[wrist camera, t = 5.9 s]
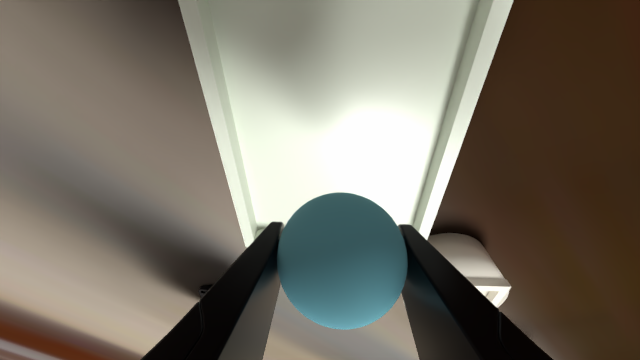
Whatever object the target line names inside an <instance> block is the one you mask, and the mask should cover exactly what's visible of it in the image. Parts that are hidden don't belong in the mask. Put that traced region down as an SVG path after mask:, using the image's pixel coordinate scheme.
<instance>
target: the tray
mask: <svg viewBox="0 0 640 360" xmlns="http://www.w3.org/2000/svg"><path fill="white" fill-rule="evenodd" d="M178 2H179V6H180V10H181V13H182V17H183V20H184V24H185V28H186V31H187V35H188V39H189V42H190V46H191V50H192V53H193V57H194V61H195V64H196V68H197V71H198V75H199V79H200V82H201V86H202V90H203V93H204V97H205V101H206V104H207V108H208V112H209V115H210V119H211V123H212V126H213V130H214V133H215V137H216V141H217V144H218V148H219V152H220V155H221V159H222V163H223V166H224V170H225V174H226V177H227V181H228V184H229V188H230V192H231V195H232V199H233V203H234V206H235V210H236V214H237V217H238V221H239V225H240V228H241V232H242V235H243V239H244V243H245V246H246V247H249V246H250V244H251V243H252V242H253V241H254V240H255V239H256V238H257V237H258V236H259V235H260V233H261V232H262V231H263V230H264V229H265V228H266V227H267V226H268V225H269V224H270V223H271V222H273V221H275V222H283V224H284V227H285V225H286V224H287V222H288V220H289V219H290V218H291V216H292V215H293V214H294V213H295V212H296V211H297V210H298V209H299V208H300V207H301V206H302V205H304V204H305V203H307V202H308V201H310V200H312V199H314V198H316V197H318V196H321V195H324V194H328V193H336V192H344V193H352V194H356V195H360V196H363V197H365V198H368V199H370V200H372V201H373V202H375V203H376V204H378V205H379V206H380V207H382V208H383V209H384V210H385V211H386V212H387V213H388V214H389V215H390V216H391V217H392V218H393V220H394V221H395V223H396V224H397V226H398V225H399V224H410V225H412V226H413V227H414V228H415V229H416V230H417V231H418V232H419V233H420V234H421V235H422V236H423V237H424V238H425V239H426V240H427V239H428V236H429V234H430V231H431V228H432V225H433V223H434V220H435V217H436V214H437V211H438V209H439V206H440V203H441V200H442V198H443V195H444V192H445V189H446V186H447V184H448V181H449V178H450V175H451V173H452V170H453V167H454V164H455V161H456V159H457V156H458V153H459V150H460V148H461V145H462V142H463V139H464V136H465V134H466V131H467V128H468V125H469V122H470V120H471V117H472V114H473V111H474V109H475V106H476V103H477V100H478V97H479V95H480V92H481V89H482V86H483V84H484V81H485V78H486V75H487V72H488V70H489V67H490V64H491V61H492V59H493V56H494V53H495V50H496V47H497V45H498V42H499V39H500V36H501V34H502V31H503V28H504V25H505V22H506V20H507V17H508V14H509V11H510V9H511V6H512V3H513V0H178Z"/></svg>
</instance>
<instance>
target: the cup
mask: <svg viewBox="0 0 640 360" xmlns="http://www.w3.org/2000/svg"><path fill="white" fill-rule="evenodd" d="M427 241H428V242H429V243H430V244H431V245H433V246H434V247H435V248H436V249H437V250H438V251H439V252H440V253H441V254H442V255H443V256H444V257H445V258H446V259H447V260H448V261H449V262H450V263H451V264H452V265H453V266H454V267H455V268H456V269H457V270H458V271H459V272H460V273H462V274H463V275H464V276H465V277H466V278H467V279H468V280H469V281H470V282H471V283H472V284H473V285H474V286H475V287H476V288H477V289H478V290H479V291H480V292H481V293H482V294H483V295H484V296H485V297H486V298H487V299H488V300H489V301H490V302H492V303H493V304H494V305H495V306H496V307H497V308H498V307H499V306H500V305H501V304H502V303H503V302H504V301H505V300H506V298H507V296H508V294H509V289H510V288H511V286H510V284H509V283H508V281H507V280H506V279H504V277H503V276H502V274H501V273H500V271H499V270H498V268H497V267H496V265H495V263H494V262H493V260H492V259H491V257H490V256H489V254H488V253H487V251H486V250H485V248H484V247H483V245H482V244H481V243H480V242H479V241H478V240H476V239H475V238H473V237H470V236H468V235H464V234H458V233H442V234H436V235H431V236H428V239H427ZM401 293H402V292H401ZM402 297H403V296H402ZM403 301H404V300H403ZM404 305H405V304H404ZM405 308H406V307H405Z"/></svg>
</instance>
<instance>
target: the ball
mask: <svg viewBox="0 0 640 360" xmlns="http://www.w3.org/2000/svg"><path fill="white" fill-rule="evenodd" d="M407 267H408V259H407V250H406V246H405V242H404V239H403V236H402V234H401V232H400V229H399V227H398V226H397V224H396V223H395V221H394V220H393V218H392V217H391V216H390V215H389V214H388V213H387V212H386V211H385V210H384V209H383V208H382V207H380V206H379V205H378V204H376V203H375V202H373V201H372V200H370V199H368V198H365V197H363V196H360V195H356V194H352V193H344V192H336V193H328V194H324V195H321V196H318V197H316V198H314V199H312V200H310V201H308V202H307V203H305V204H304V205H302V206H301V207H300V208H299V209H298V210H297V211H296V212H295V213H294V214H293V215H292V216H291V218H290V219H289V220H288V222H287V224H286V225H285V227H284V229H283V231H282V234H281V237H280V240H279V244H278V250H277V269H278V274H279V278H280V281H281V284H282V287H283V289H284V291H285V293H286V295H287V297H288V298H289V300H290V301H291V302H292V304H293V305H294V306H295V308H296V309H297V310H299V311H300V312H301V313H302V314H303V315H304V316H305V317H307V318H308V319H310V320H312V321H314V322H315V323H317V324H319V325H322V326H325V327H329V328H334V329H354V328H359V327H363V326H366V325H368V324H370V323H372V322H374V321H376V320H377V319H379V318H381V317H382V316H383V315H384V314H385V313H386V312H388V311H389V310H390V309H391V307H392V306H393V305H394V303H395V302H396V301H397V299H398V298H399V296H400V293H401V291H402V289H403V287H404V283H405V280H406V275H407Z"/></svg>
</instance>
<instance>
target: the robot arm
mask: <svg viewBox="0 0 640 360" xmlns="http://www.w3.org/2000/svg"><path fill="white" fill-rule="evenodd" d="M398 227H399V229H400V232H401V234H402V236H403V239H404V242H405V246H406V250H407V259H408V267H407V275H406V280H405V283H404V287H403V289H402V291H401V292H402V296H403V300H404V304H405V307H406V311H407V315H408V319H409V322H410V326H411V330H412V333H413V337H414V341H415V344H416V348H417V352H418V355H419V359H420V360H553V359H552V358H551V357H550V356H549V355H547V354H546V353H545V352H544V351H543V350H542V349H541V348H539V347H538V346H537V345H536V344H535V343H534V342H533V341H532V340H531V339H529V338H528V337H527V336H526V335H525V334H524V333H523V332H522V331H521V330H520V329H519V328H518V327H517V326H516V325H514V324H513V323H512V322H511V321H510V320H509V319H508V318H507V317H506V316H505V315H504V314H503V313H502V312H499V310H498V308H497V307H496V306H495V305H494V304H493V303H492V302H490V301H489V300H488V299H487V298H486V297H485V296H484V295H483V294H482V293H481V292H480V291H479V290H478V289H477V288H476V287H475V286H474V285H473V284H472V283H471V282H470V281H469V280H468V279H467V278H466V277H465V276H464V275H463V274H462V273H460V272H459V271H458V270H457V269H456V268H455V267H454V266H453V265H452V264H451V263H450V262H449V261H448V260H447V259H446V258H445V257H444V256H443V255H442V254H441V253H440V252H439V251H438V250H437V249H436V248H435V247H434V246H433V245H431V244H430V243H429V242H428V241H427V240H426V239H425V238H424V237H423V236H422V235H421V234H420V233H419V232H418V231H417V230H416V229H415V228H414V227H413V226H412V225H410V224H399V225H398ZM283 229H284V224H283V222H275V221H273V222H271V223H270V224H269V225H268V226H267V227H266V228H265V229H264V230H263V231H262V232H261V233H260V235H259V236H258V237H257V238H256V239H255V240H254V241H253V242H252V243H251V244H250V246H249V247H248V248H247V249H246V250H245V251H244V252H243V253H242V254H241V255H240V256H239V258H238V259H237V260H236V261H235V262H234V263H233V264H232V265H231V266H230V267H229V268H228V270H227V271H226V272H225V273H224V274H223V275H222V276H221V277H220V278H219V279H218V280H217V282H216V283H215V284H214V285H213V286H201V287H200V289H199V291H198V292H199V294H200V296H201V299H200V302H197V303H196V304H195V305H194V307H193V308H192V309H191V310H190V311H189V312H188V313H187V314H186V315H185V316H184V317H183V318H182V319H181V320H180V321H179V323H178V324H177V325H176V326H175V327H174V328H173V329H172V330H171V331H170V332H169V333H168V334H167V335H166V336H165V337H164V338H163V339H162V340H161V341H160V342H158V343H157V344H156V345H155V346H154V347H153V348H152V349H151V350H150V351H149V352H148V353H147V354H146V355H145V356H144V357H143V358H142V359H141V360H262V359H263V355H264V351H265V347H266V343H267V339H268V334H269V330H270V326H271V322H272V318H273V314H274V309H275V305H276V301H277V297H278V293H279V288H280V283H281V281H280V278H279V274H278V269H277V250H278V244H279V240H280V237H281V234H282V231H283Z"/></svg>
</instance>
